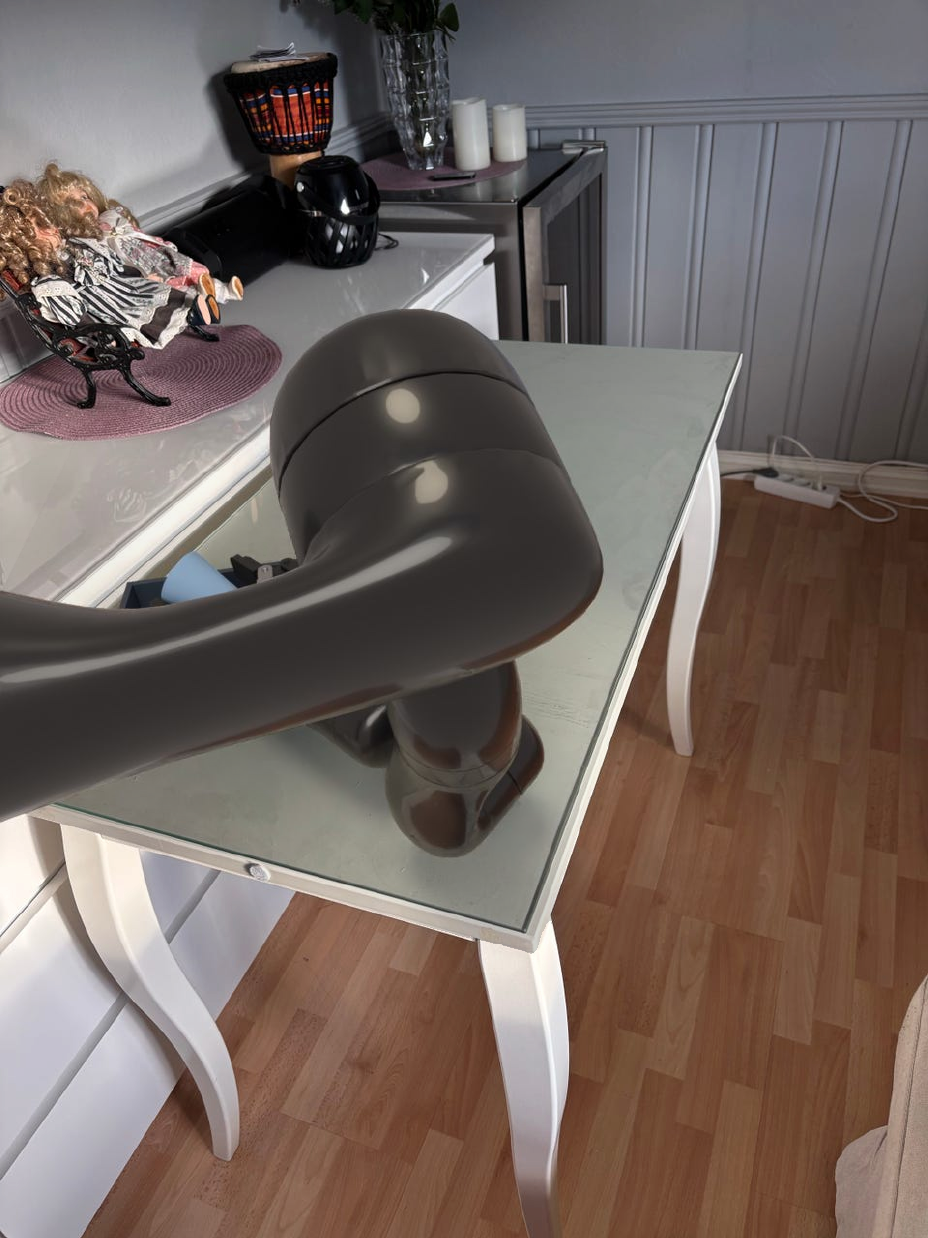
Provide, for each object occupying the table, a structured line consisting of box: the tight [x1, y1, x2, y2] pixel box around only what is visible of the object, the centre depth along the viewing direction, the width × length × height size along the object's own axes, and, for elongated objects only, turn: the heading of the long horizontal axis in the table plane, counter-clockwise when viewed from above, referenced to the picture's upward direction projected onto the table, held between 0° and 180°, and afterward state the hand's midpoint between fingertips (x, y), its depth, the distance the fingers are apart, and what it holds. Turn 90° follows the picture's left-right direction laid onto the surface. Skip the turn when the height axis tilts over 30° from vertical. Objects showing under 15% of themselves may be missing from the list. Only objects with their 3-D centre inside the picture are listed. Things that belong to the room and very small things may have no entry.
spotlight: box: [161, 550, 238, 604], centre depth 77 cm, size 5×10×7 cm
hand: (196, 586), depth 78 cm, fingers open, 7 cm apart
